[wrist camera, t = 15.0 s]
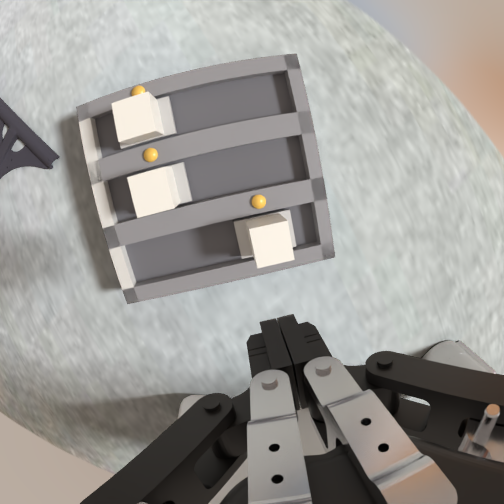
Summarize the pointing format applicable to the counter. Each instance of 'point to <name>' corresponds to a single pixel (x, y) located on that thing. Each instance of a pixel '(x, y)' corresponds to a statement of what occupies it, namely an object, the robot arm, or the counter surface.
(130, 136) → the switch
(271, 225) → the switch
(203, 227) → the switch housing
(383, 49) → the counter surface
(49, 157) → the bracket
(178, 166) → the switch middle
